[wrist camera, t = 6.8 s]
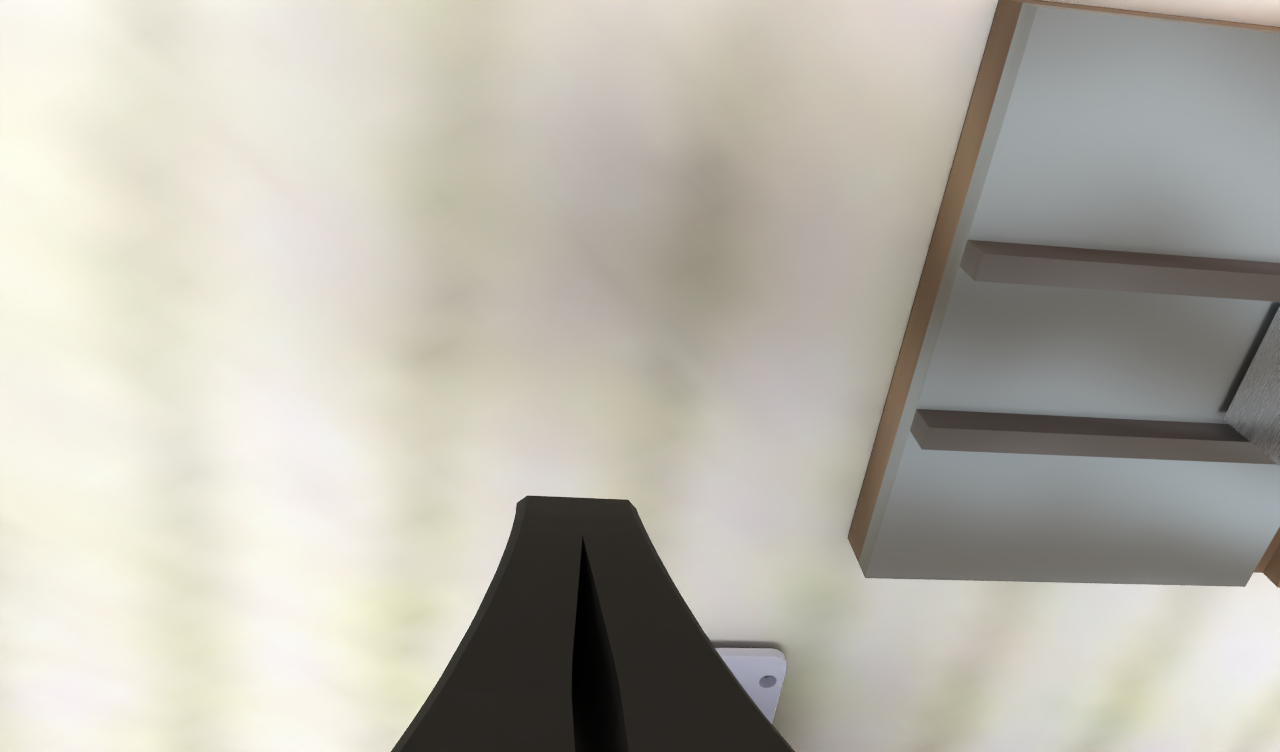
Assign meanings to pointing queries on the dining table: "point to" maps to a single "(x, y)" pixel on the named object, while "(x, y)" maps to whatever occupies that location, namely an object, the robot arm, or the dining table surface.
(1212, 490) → the slide bolt latch board
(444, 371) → the dining table surface
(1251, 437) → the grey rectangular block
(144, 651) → the dining table surface
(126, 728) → the dining table surface
